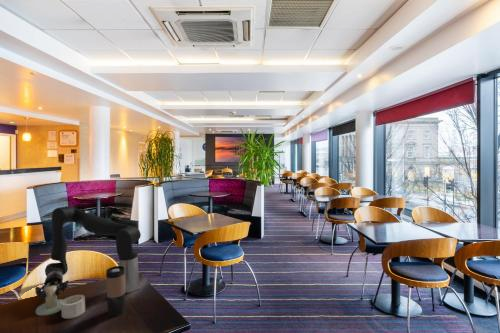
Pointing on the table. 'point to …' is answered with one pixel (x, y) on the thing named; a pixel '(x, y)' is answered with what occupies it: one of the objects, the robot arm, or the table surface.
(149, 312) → the table surface
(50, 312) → the lid
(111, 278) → the travel mug
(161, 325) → the table surface
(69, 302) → the bowl
